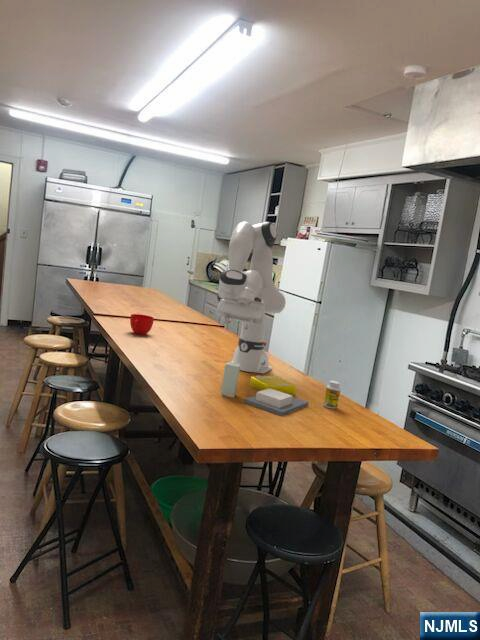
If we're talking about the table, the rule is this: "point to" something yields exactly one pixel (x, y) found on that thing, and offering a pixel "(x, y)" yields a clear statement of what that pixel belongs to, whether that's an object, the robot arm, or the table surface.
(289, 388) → the element tile
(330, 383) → the supplement bottle
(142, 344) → the table surface
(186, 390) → the table surface
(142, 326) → the ceramic cup
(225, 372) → the sage block
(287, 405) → the slate board
